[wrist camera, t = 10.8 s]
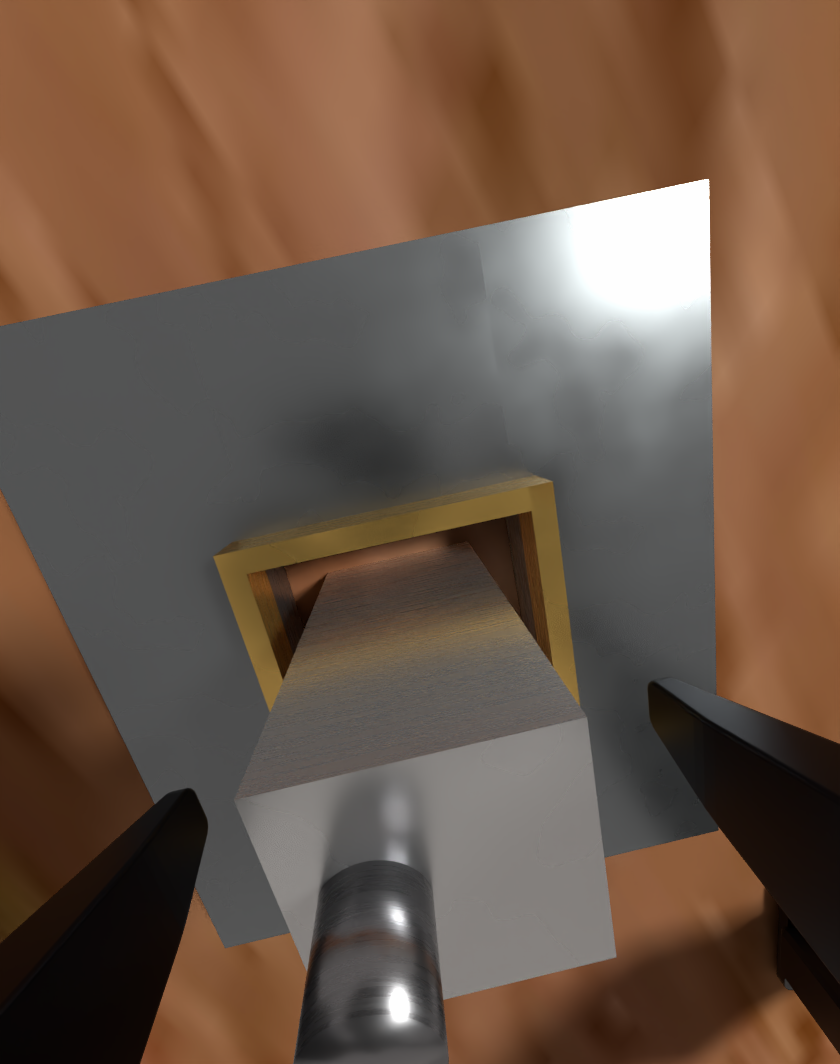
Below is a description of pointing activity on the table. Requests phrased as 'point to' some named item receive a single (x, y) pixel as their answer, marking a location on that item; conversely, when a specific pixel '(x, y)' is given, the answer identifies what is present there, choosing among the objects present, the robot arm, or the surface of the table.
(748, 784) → the robot arm
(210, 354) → the grey peg insertion board
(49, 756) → the table surface
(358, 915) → the brushed metal block
